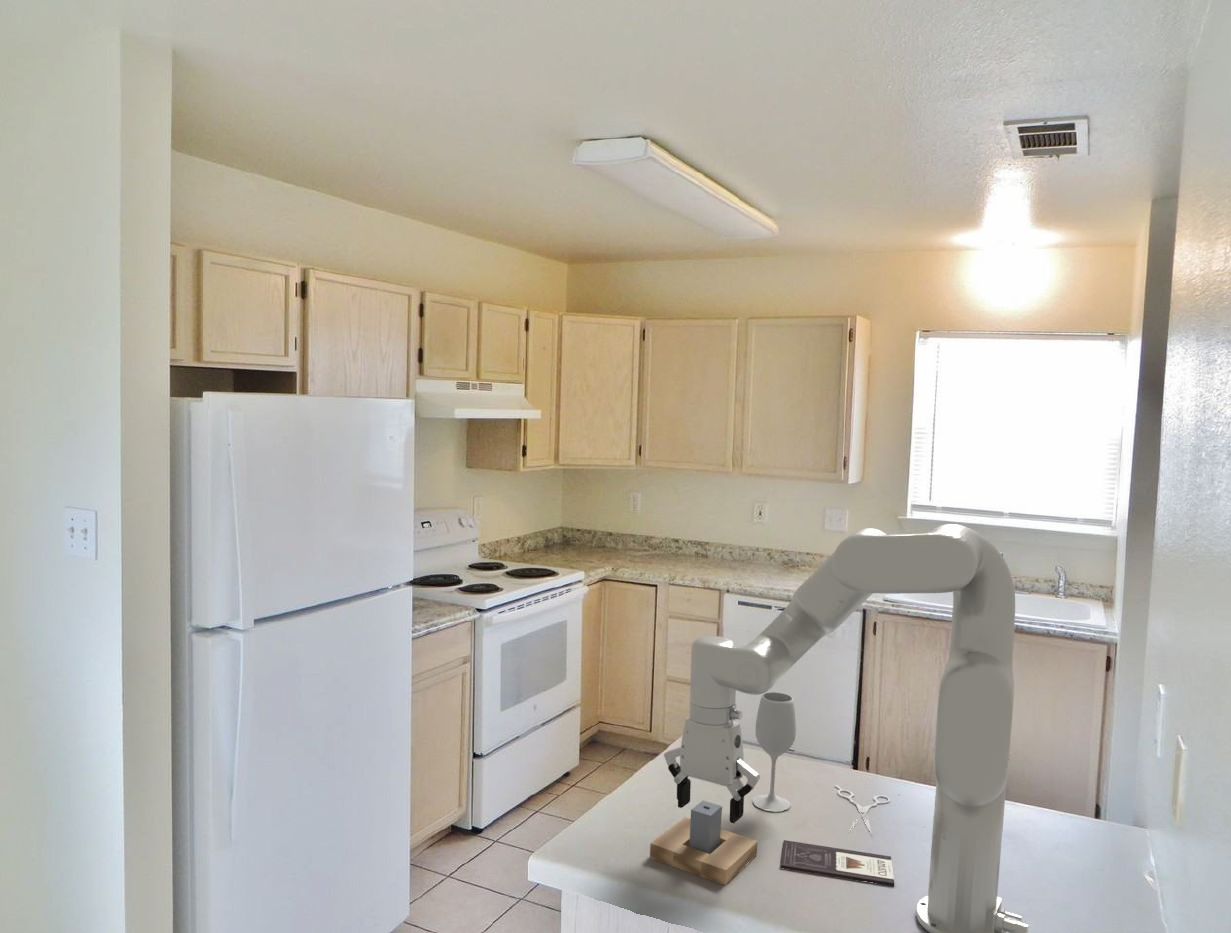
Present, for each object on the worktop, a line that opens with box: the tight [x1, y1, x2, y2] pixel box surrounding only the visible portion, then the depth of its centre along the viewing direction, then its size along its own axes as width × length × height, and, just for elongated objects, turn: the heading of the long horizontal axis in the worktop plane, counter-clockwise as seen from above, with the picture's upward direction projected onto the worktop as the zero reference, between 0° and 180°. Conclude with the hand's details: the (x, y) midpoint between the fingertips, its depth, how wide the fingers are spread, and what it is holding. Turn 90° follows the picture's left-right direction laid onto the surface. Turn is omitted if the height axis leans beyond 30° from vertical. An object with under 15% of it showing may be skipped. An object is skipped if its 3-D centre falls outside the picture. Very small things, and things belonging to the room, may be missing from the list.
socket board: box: [649, 816, 759, 886], centre depth 150 cm, size 14×12×2 cm
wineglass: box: [752, 691, 797, 811], centre depth 170 cm, size 8×8×21 cm
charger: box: [689, 800, 723, 854], centre depth 150 cm, size 4×4×9 cm
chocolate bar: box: [780, 840, 895, 888], centre depth 150 cm, size 9×1×18 cm
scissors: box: [834, 784, 891, 836], centre depth 170 cm, size 11×1×20 cm
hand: (709, 812), depth 149 cm, fingers open, 9 cm apart
